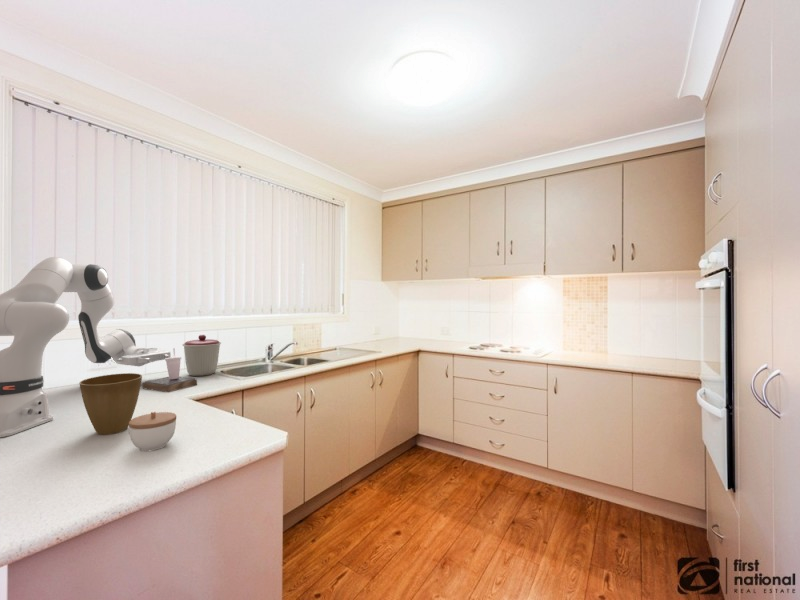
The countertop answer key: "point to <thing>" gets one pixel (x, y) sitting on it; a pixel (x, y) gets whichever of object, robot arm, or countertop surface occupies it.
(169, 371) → the smoothie
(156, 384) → the dark brown flat slab
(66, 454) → the countertop surface
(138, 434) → the lidded jar
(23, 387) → the robot arm
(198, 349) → the canister
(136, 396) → the plant pot
